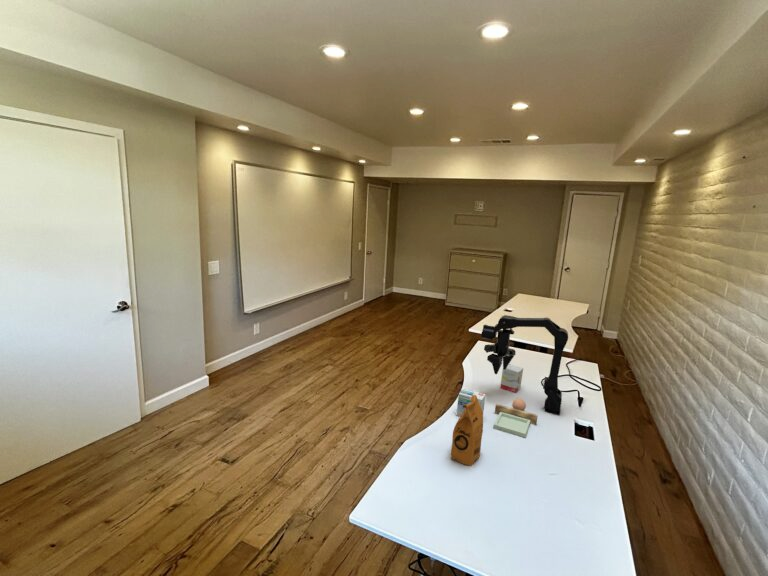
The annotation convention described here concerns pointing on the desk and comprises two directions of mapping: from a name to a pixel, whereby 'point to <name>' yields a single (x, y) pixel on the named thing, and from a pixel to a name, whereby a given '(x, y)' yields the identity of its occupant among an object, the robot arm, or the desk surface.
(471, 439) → the coffee package
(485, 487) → the desk surface
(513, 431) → the sage tray
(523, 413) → the oak rail
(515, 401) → the ball
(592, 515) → the desk surface
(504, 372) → the ink box
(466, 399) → the light bulb box
